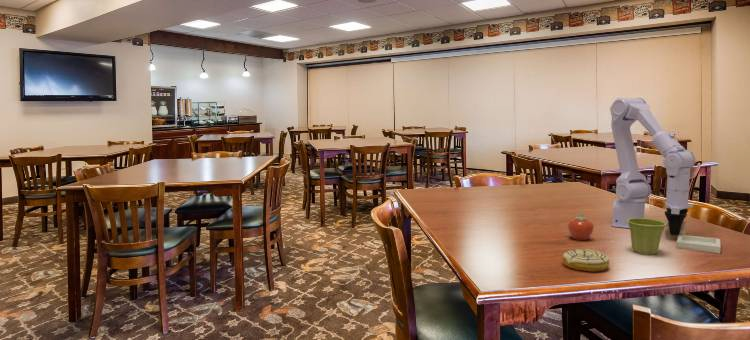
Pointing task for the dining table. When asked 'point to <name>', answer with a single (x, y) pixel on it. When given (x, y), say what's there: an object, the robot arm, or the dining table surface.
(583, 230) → the tomato
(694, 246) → the tray
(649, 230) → the plant pot
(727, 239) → the dining table surface
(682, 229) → the maple block
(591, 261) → the decorated donut
